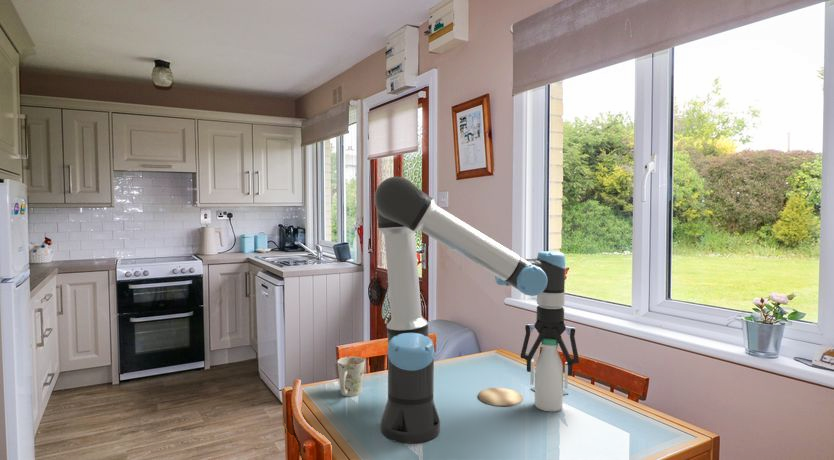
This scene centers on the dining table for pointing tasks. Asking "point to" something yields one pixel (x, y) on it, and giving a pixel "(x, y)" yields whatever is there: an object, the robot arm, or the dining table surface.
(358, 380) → the mug
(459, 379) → the dining table surface
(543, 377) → the milk bottle
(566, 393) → the tile
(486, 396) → the round flatbread
